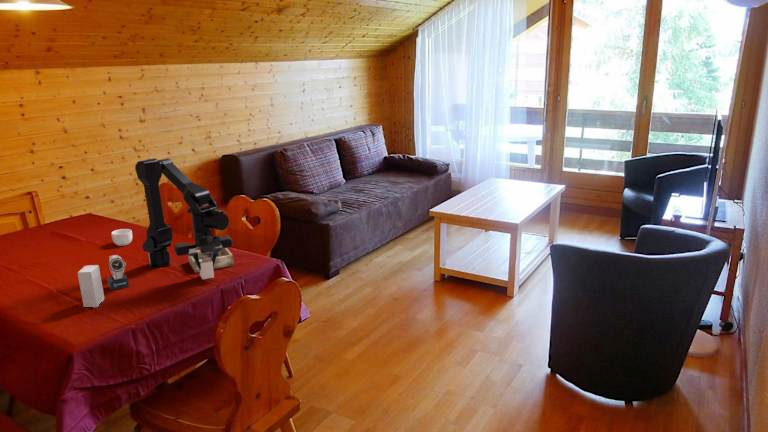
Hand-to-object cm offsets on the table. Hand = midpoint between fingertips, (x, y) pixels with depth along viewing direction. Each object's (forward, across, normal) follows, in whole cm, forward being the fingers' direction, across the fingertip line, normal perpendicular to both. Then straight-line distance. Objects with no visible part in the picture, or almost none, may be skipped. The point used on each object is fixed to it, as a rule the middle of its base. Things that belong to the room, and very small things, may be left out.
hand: (206, 268), depth 198 cm
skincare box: (+3, -36, -5) cm, 36 cm away
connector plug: (+3, 0, 0) cm, 3 cm away
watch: (+3, -28, +6) cm, 29 cm away
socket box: (+3, +4, +12) cm, 13 cm away
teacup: (+3, -23, +55) cm, 60 cm away
